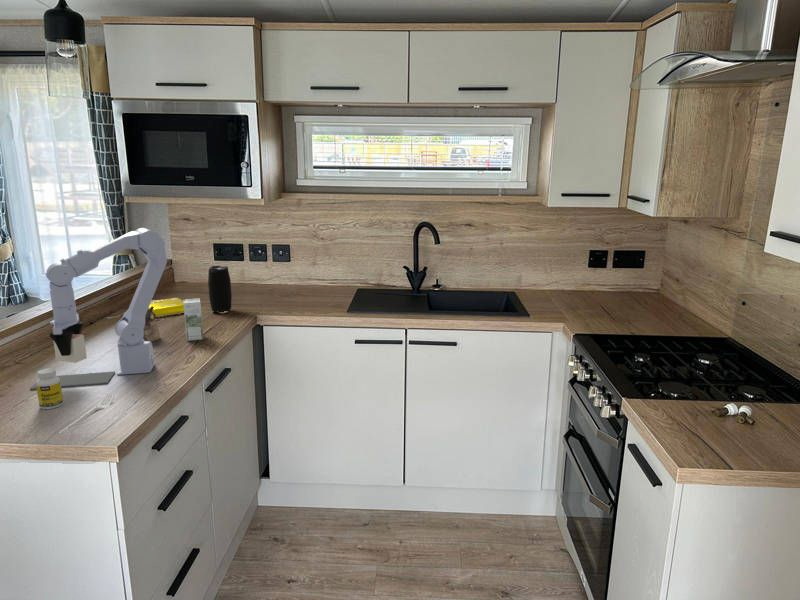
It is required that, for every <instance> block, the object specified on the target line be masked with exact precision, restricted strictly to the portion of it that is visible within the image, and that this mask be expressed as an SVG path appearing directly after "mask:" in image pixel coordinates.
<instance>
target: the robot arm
mask: <svg viewBox="0 0 800 600" xmlns="http://www.w3.org/2000/svg"><path fill="white" fill-rule="evenodd" d="M165 244H166V243H165V240H164V239H163V237H162V236H161V234H159V233H158V232H157V231H156V230H151V229H149V228H146V227H140V228H137V229H136V230H135V231H134V230H132V231H129V232H127V233H125V234H123V235H121V236H119V237H117V238H115V239H113V240H112V241H110V242H109V241H108V243H106V244H104V245H102V246H100V247H98V248H96V249H95V250H89V249H85V250H83V249H79V250H77V251H76V254H73V255H72V256H70V257H68V258H62V259H60V260H59V262H54V263H52V264H50V265H49V266H48V268H47V269H46V273H45V277H46V278H47V280H48V281H49V289H50V290H49V295H50V303H51V307H52V314H53V320H51V321H50V322H49V325H53V327H52V331H51V332H49V333H48V334H49V337H50V339H52V341H53V340H54V342H55V343H56V345H57V347H58V349H59V351H60V353H61V355H62V356H69V355H70V353H71V338H72V335H73V334H82V330H83V327H84V324H85V322H84V321H80V315H79V313H77V305H76V300H75V299H76V298H75V291H74V288H73V284H72V283H73V282H72V281H73V279H74V278H79V277H80V276H83V275H84V274H86V273H89V272H90V271H93V270H94V269H97V268H98V267H99V264H100V262H101V261H102V260H105V259H107V258H110V257H111V256H114V255H116V254H119V253H120V252H122V251H124V250H137V251H139V250H140V251H141V252H142V254H143V256H144V257H145V258H146V261H147V263H146V266H145V268H144V271H143V273H142V275H141V278H140V280H139V283H138V284H137V287H136V290H135V292H134V295H133V297H132V299H131V301H130V304H129V307H128V309H127V310H126V311H125V312H124V313H123V315H122V317H121V319H119V320H118V321H117V322H116V324H115V327H114V331H115V334H116V335H117V336H118V337H119V339H118V340H117V350H118V351H117V352H118V358H119V359H118V360H119V366H120V367H119V370H118V371H117V373H116V375H117V376H120V375H131V374H132V375H134V374H147V373H151V372H152V370H153V368H154V366H155V365H156V364H155V358H154V357H155V356H154V349H153V348H154V347H153V343H152V342H151V341H143V336H144V326H145V315H146V313H147V310H148V308H149V305H150V303H151V301H152V300H153V297H154V295H155V294H156V291H157V288H158V286H159V283H160V281H161V278H162V276H163V273H164V270H165V269H166V265H167V263H168V261H167V260H168V259H167V253H166V248H165V246H166V245H165ZM60 262H61V263H60ZM54 342H53V343H54Z"/></svg>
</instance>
